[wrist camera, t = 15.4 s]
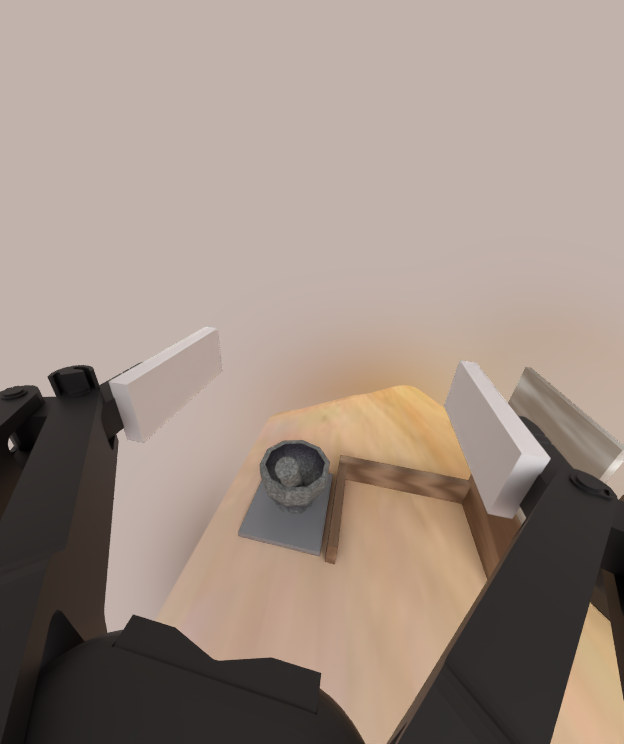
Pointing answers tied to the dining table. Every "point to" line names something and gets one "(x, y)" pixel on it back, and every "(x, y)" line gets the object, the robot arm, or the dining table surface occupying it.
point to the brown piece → (490, 532)
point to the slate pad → (287, 522)
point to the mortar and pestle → (294, 475)
